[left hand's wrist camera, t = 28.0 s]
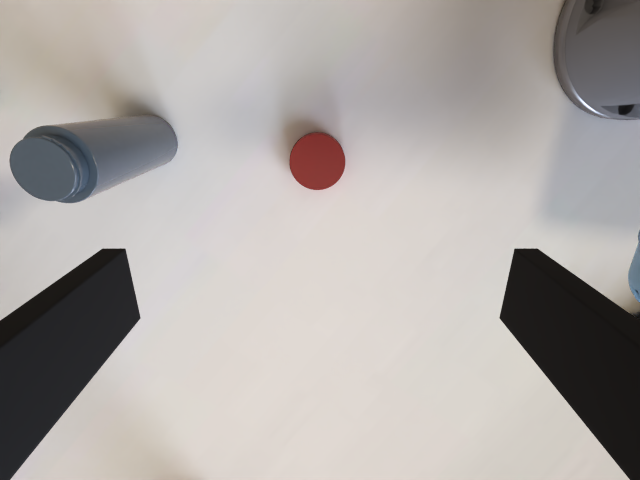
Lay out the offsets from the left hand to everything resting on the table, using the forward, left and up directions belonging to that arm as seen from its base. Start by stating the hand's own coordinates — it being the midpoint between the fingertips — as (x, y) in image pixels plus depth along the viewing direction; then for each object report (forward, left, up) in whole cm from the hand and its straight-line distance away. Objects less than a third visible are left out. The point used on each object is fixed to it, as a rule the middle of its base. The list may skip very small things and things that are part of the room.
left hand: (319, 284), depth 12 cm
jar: (+13, -11, -26) cm, 31 cm away
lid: (0, 0, -25) cm, 25 cm away
